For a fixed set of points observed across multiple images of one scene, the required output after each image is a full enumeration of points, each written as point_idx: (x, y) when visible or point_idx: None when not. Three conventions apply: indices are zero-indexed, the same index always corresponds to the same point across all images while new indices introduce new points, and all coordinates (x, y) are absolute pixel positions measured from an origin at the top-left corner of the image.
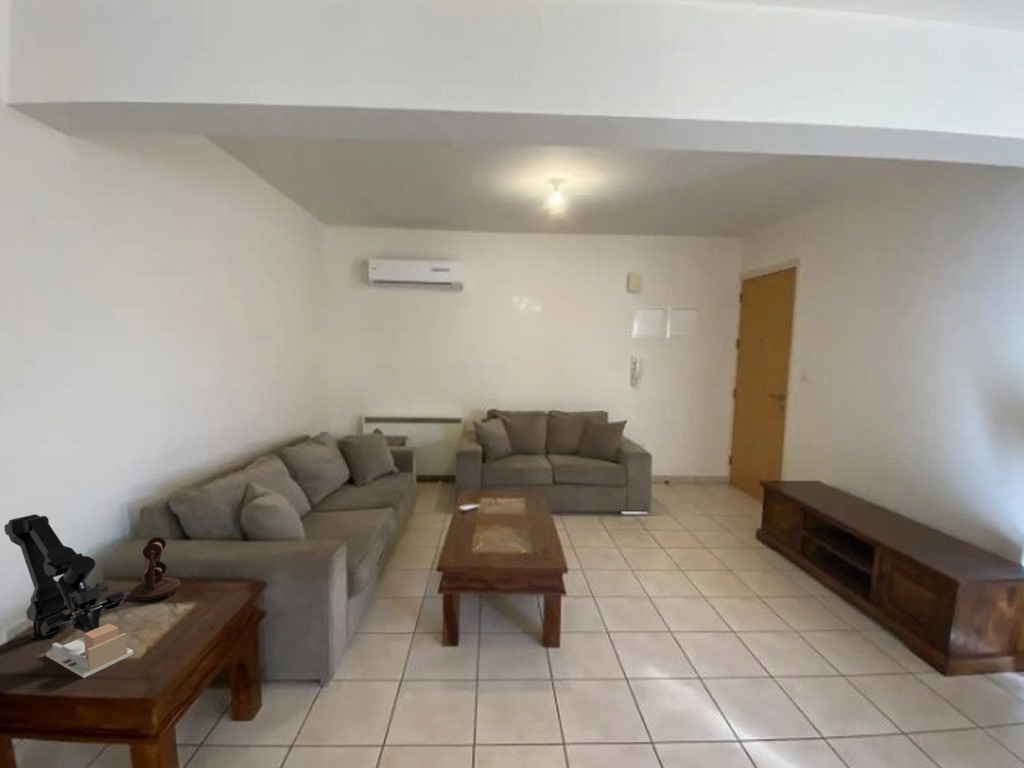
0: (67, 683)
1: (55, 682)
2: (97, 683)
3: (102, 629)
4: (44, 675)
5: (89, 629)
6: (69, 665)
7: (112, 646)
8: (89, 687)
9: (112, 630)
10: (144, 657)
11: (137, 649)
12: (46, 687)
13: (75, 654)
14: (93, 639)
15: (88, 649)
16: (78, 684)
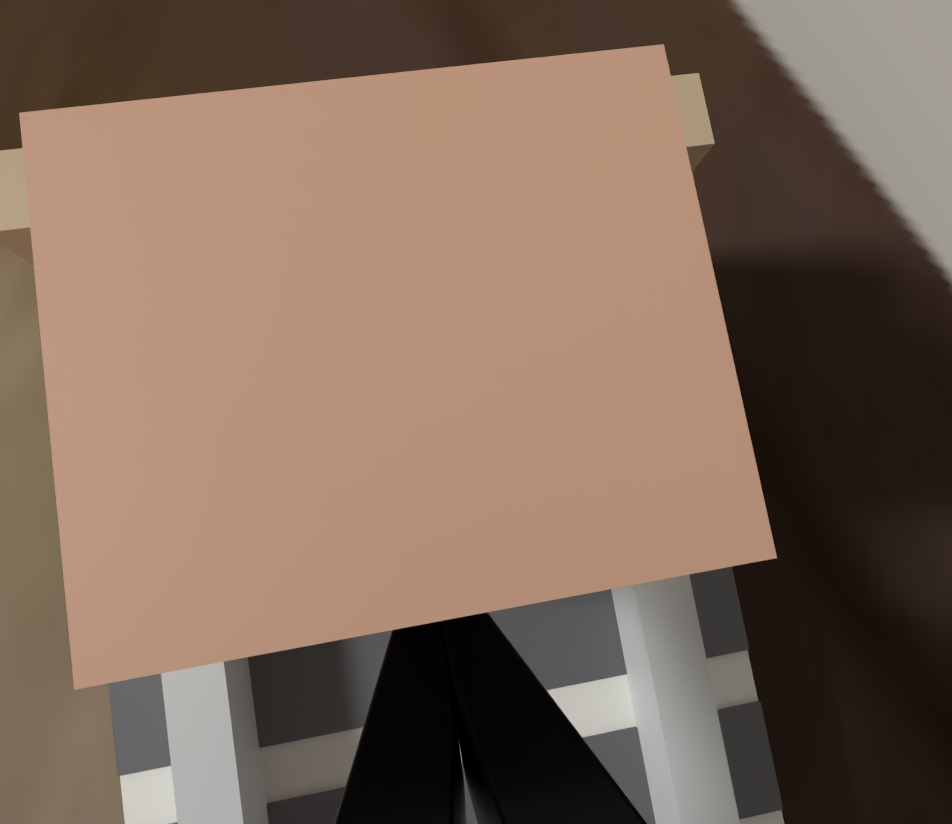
0: (782, 283)
1: (867, 416)
2: (572, 19)
3: (356, 387)
4: (935, 701)
5: (600, 768)
6: (736, 605)
7: None
8: (645, 12)
9: (191, 98)
10: None
11: (10, 408)
12: (945, 386)
13: (684, 720)
14: (652, 68)
15: (700, 120)
16: (708, 164)
